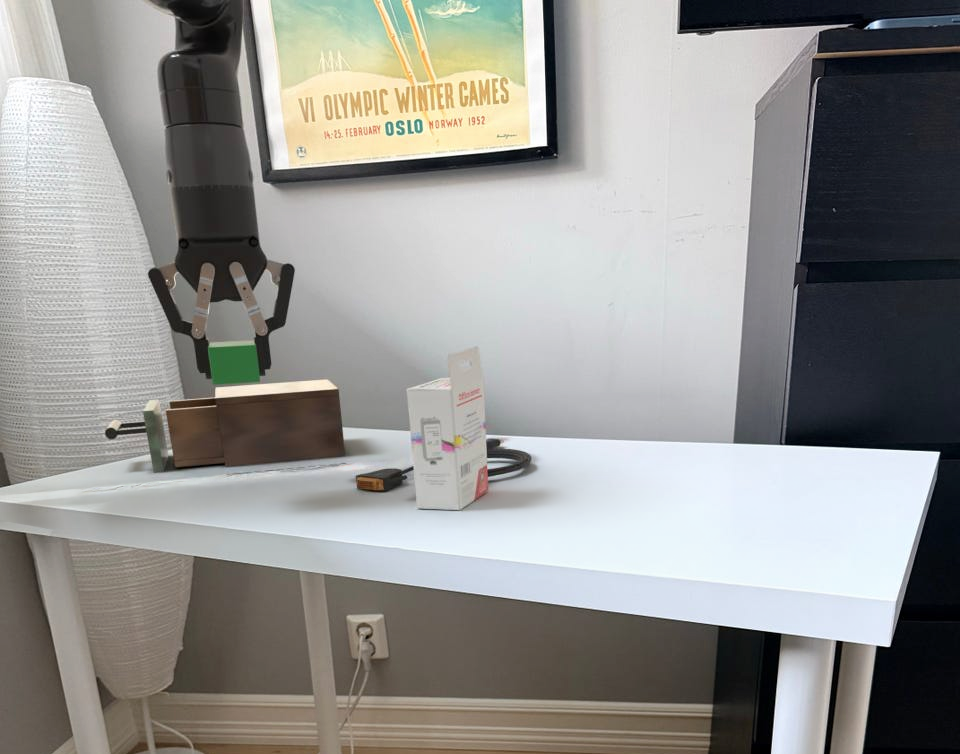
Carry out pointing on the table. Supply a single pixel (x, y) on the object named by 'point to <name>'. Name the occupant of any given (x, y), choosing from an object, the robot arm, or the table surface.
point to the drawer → (178, 432)
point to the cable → (393, 476)
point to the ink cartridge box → (449, 435)
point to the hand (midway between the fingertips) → (235, 376)
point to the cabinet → (280, 422)
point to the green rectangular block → (233, 362)
